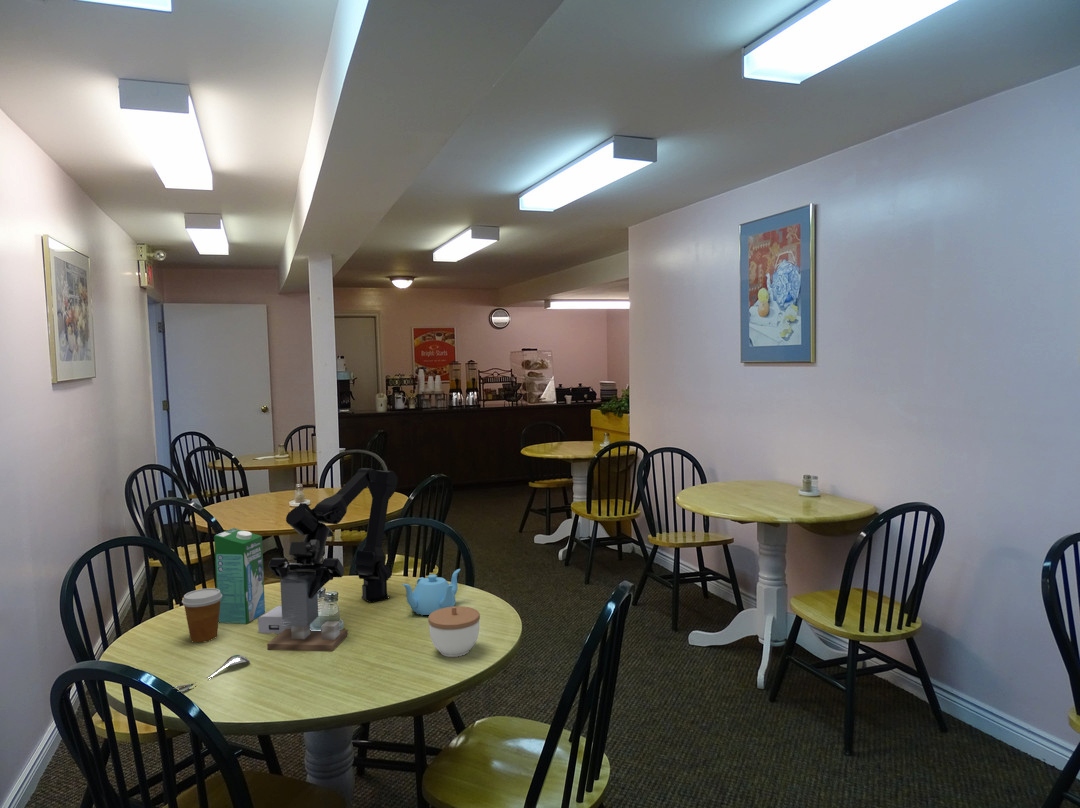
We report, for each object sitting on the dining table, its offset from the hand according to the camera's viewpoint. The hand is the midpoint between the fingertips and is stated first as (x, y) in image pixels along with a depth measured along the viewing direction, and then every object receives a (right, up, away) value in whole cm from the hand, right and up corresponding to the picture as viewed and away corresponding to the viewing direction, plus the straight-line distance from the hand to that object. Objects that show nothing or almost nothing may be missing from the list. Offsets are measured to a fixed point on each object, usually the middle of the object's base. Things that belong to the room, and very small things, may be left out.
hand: (297, 597), depth 172 cm
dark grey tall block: (0, -7, +2) cm, 7 cm away
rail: (+2, -12, +2) cm, 12 cm away
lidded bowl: (+41, -12, -5) cm, 43 cm away
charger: (-8, -12, +16) cm, 21 cm away
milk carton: (-23, -12, +21) cm, 33 cm away
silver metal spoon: (-14, -14, -18) cm, 26 cm away
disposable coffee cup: (-27, -13, +6) cm, 30 cm away
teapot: (+32, -11, +23) cm, 41 cm away
